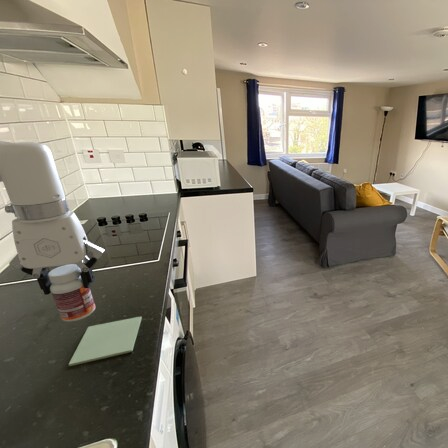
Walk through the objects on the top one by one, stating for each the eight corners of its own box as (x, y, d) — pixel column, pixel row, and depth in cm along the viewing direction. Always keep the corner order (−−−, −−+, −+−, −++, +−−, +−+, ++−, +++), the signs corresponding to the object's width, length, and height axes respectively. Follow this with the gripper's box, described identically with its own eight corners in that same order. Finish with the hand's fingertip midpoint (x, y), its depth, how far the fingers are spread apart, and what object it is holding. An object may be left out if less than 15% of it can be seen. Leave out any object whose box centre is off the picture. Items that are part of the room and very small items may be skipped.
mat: (69, 366, 57) (68, 364, 56) (88, 328, 67) (88, 326, 67) (132, 351, 61) (131, 349, 60) (141, 318, 71) (141, 316, 71)
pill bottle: (96, 315, 59) (82, 272, 55) (60, 326, 55) (42, 281, 51) (96, 301, 63) (83, 260, 59) (62, 311, 60) (46, 268, 56)
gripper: (-33, 220, 44) (7, 306, 51) (89, 211, 50) (112, 290, 56) (-3, 207, 51) (29, 285, 57) (102, 200, 57) (120, 272, 63)
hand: (70, 287), depth 57 cm, fingers closed on pill bottle, 6 cm apart
